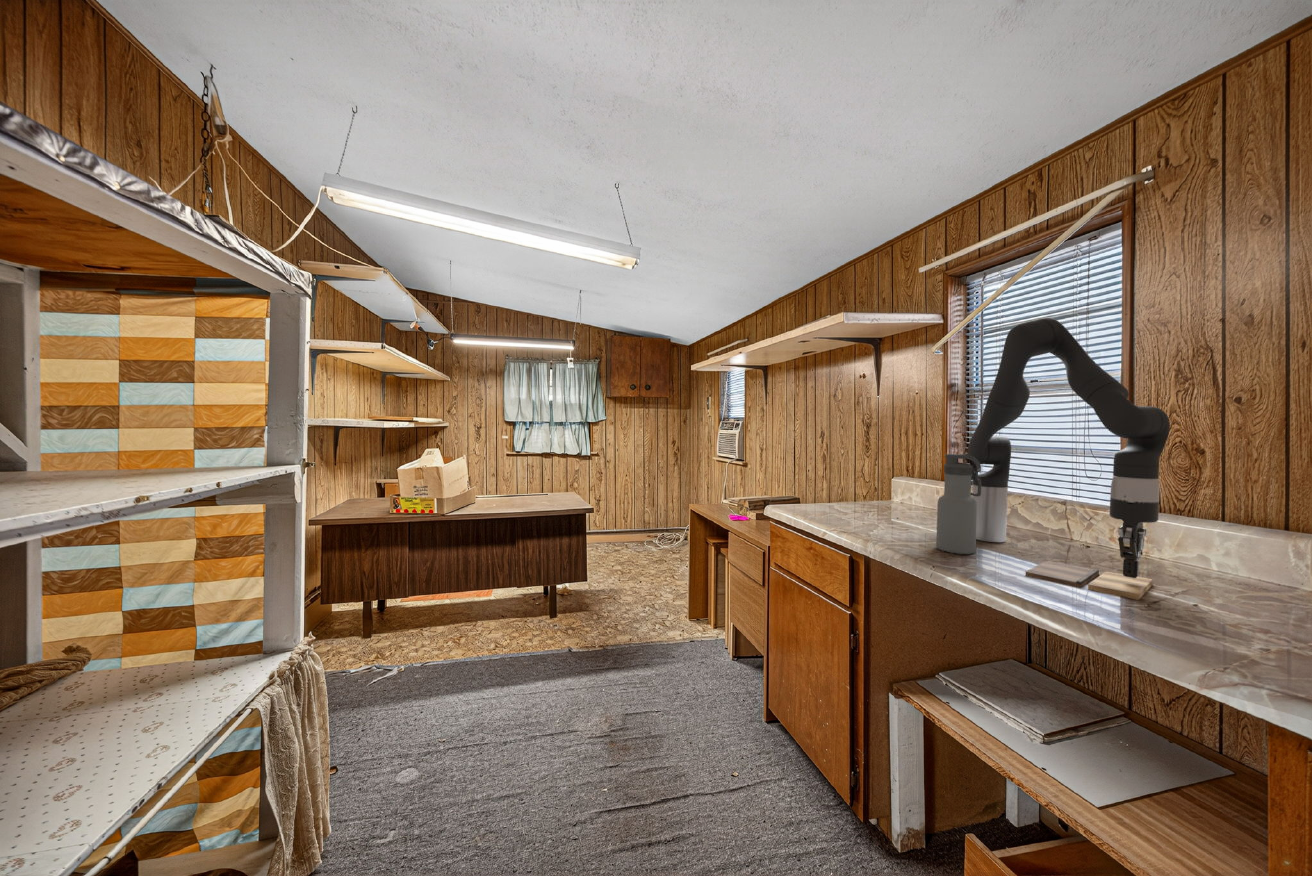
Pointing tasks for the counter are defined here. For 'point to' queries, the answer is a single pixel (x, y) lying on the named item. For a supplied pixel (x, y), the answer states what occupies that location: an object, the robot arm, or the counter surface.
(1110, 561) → the counter surface
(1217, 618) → the counter surface
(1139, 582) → the oak plank
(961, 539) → the water bottle
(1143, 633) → the counter surface
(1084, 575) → the walnut board
